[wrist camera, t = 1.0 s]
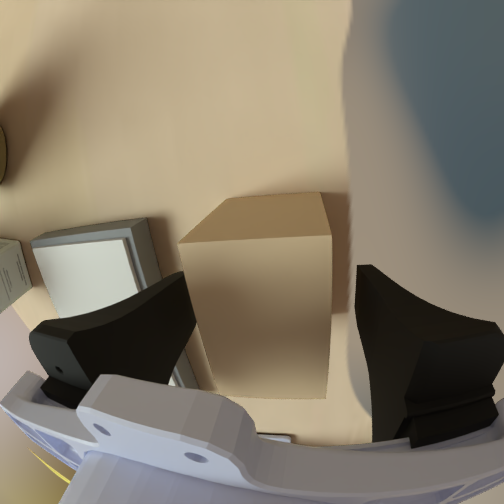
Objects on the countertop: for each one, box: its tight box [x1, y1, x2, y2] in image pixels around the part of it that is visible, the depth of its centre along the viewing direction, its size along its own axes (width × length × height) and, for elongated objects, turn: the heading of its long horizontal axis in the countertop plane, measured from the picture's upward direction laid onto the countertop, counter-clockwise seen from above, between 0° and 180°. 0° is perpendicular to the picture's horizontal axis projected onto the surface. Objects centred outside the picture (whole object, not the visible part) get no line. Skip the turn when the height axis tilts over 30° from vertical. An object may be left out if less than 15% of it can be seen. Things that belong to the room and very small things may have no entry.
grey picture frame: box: [30, 218, 200, 390], centre depth 18 cm, size 14×10×2 cm
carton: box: [177, 192, 332, 399], centre depth 12 cm, size 7×4×6 cm, turn 7°
